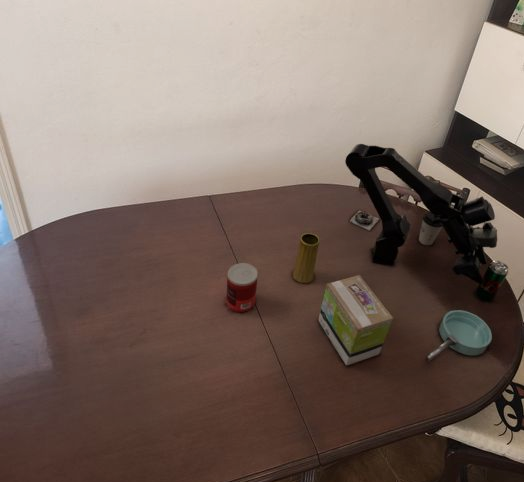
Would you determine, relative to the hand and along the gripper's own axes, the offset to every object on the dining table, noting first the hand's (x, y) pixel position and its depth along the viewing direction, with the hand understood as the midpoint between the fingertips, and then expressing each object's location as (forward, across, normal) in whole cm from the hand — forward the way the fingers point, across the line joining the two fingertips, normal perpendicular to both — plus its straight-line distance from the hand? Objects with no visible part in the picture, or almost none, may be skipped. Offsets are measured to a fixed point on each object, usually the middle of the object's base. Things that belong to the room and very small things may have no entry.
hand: (483, 273), depth 131 cm
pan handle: (0, -29, +8) cm, 30 cm away
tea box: (-14, -36, +25) cm, 45 cm away
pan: (+5, -19, +6) cm, 21 cm away
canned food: (-34, -40, +46) cm, 69 cm away
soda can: (+8, 0, +3) cm, 8 cm away
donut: (-21, +15, +33) cm, 42 cm away
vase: (-27, -21, +38) cm, 51 cm away
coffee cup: (-7, +16, +18) cm, 25 cm away
